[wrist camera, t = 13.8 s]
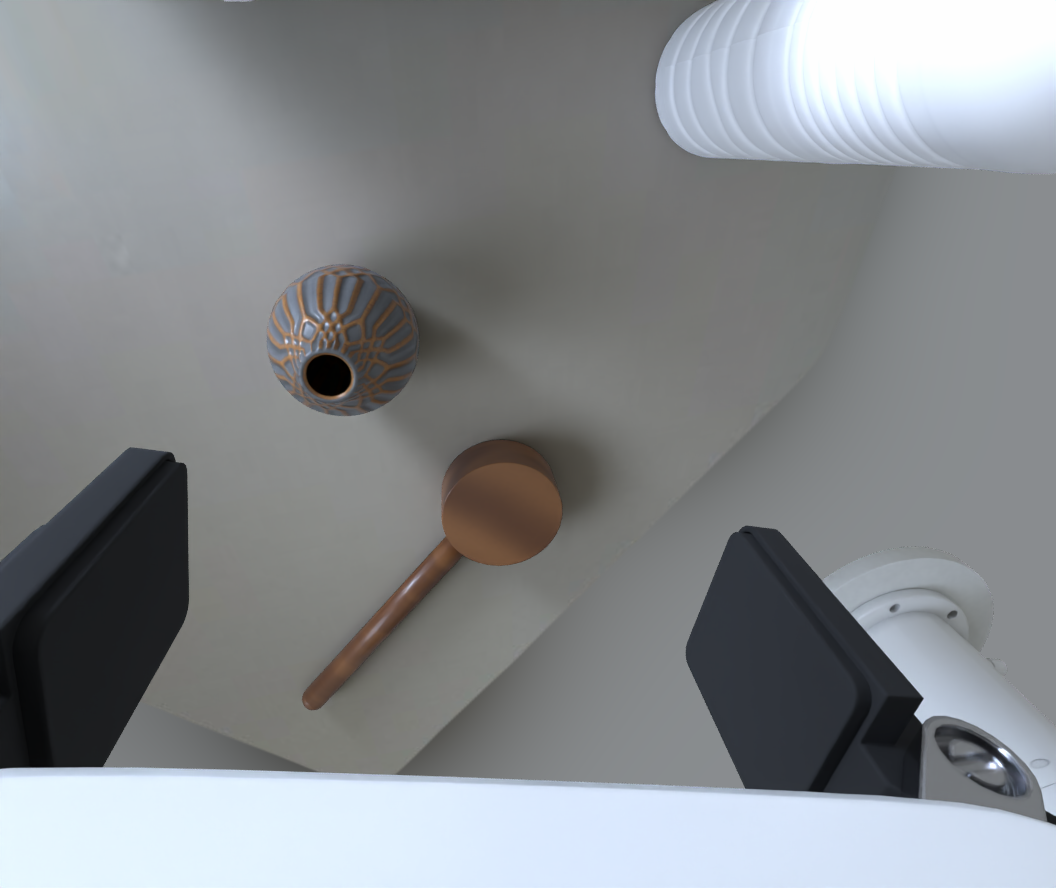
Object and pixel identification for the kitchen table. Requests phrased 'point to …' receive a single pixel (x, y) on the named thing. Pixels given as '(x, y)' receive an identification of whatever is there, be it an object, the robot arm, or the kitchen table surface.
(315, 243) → the kitchen table surface
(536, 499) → the ladle
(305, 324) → the vase
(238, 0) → the white plastic wash basin
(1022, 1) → the water bottle
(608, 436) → the kitchen table surface
